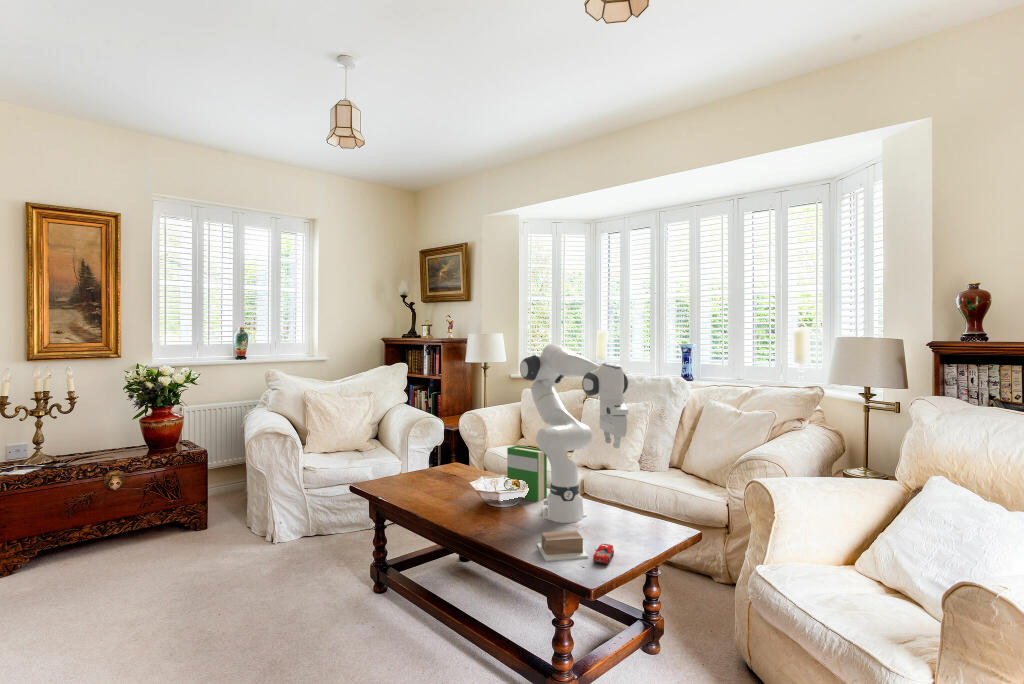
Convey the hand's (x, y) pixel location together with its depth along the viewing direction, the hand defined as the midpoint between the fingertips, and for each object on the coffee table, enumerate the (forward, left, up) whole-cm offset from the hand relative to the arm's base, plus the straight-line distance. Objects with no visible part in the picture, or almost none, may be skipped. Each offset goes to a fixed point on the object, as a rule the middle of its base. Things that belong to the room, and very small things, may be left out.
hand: (612, 445), depth 195 cm
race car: (+15, -8, -38) cm, 42 cm away
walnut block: (+3, -20, -35) cm, 41 cm away
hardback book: (-61, -20, -37) cm, 74 cm away
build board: (+3, -20, -37) cm, 42 cm away
